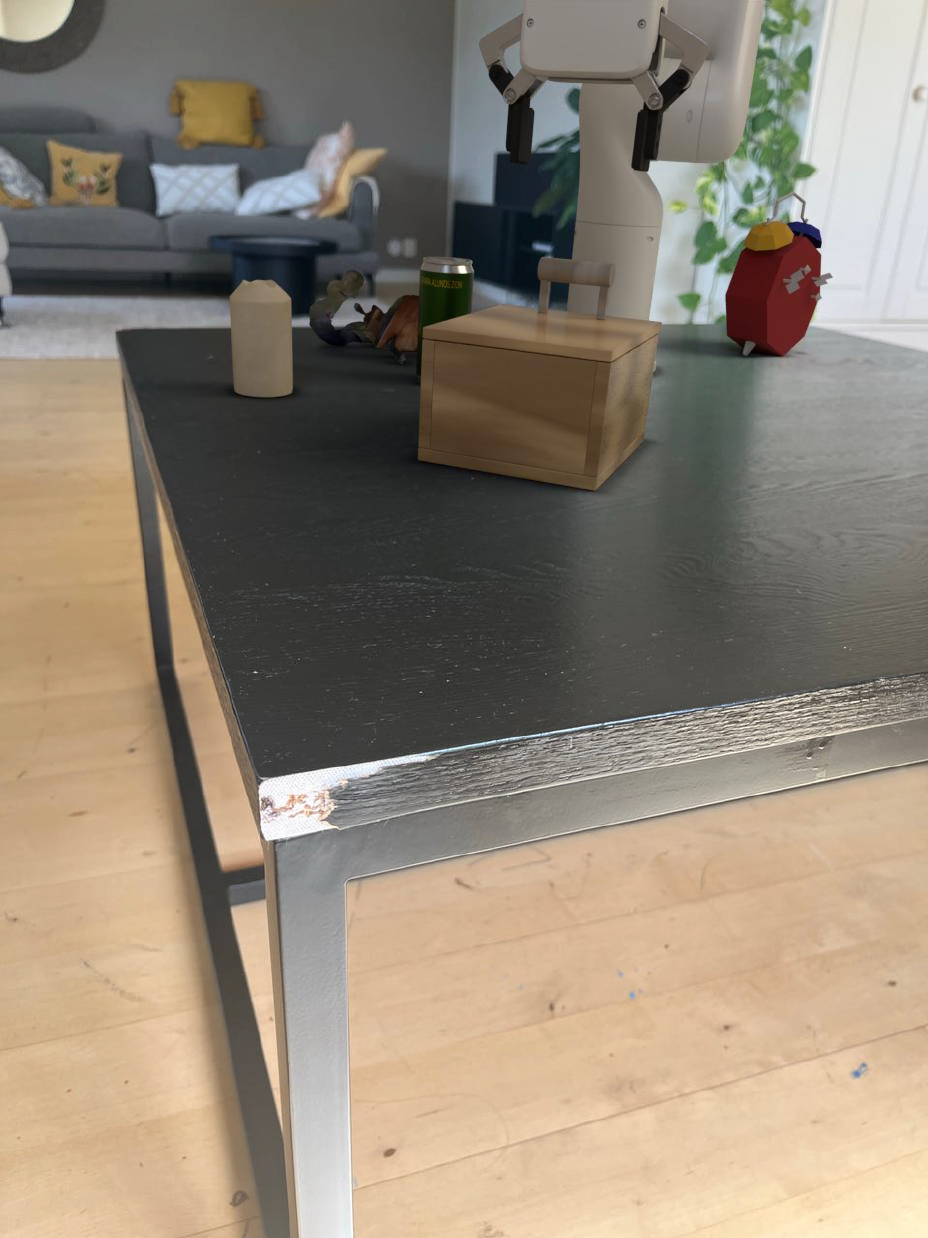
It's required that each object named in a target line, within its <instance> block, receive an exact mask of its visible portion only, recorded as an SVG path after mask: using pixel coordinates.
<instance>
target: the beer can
mask: <svg viewBox="0 0 928 1238" xmlns="http://www.w3.org/2000/svg"><path fill="white" fill-rule="evenodd" d="M472 264H473V260H472V259H468V258H462V257H461V258H460V257H452V256H450V257H449V256H424V257H422V264H421V265H420V268H419V282H418V283H419V284H418V296H419V310H418V337H417V352H416V367H415V368H416V369H415V374H416V378H417V379H418V382H419V383H421V366H422V340H423V339H424V338H423V327H426V326H429V325H433V324H436V323H440V322H443V321H447V320H450V319H454V318H457V317H460V316H464V315H467V314H471V313H473V298H474V297H473V295H474V280H475V279H474V278H475V270H474V268H473V266H472Z"/></svg>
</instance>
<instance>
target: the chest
mask: <svg viewBox="0 0 928 1238" xmlns="http://www.w3.org/2000/svg"><path fill="white" fill-rule="evenodd" d="M658 340H659V333H658V334H656V335H654V336H653V337H651V338H649V339H648V340H646V341H645V342H643V343H641V344H640V345H638V346H636V347H635V348H633V349H632V350H630V351H628V352H627V353H625V354H623V355H622V356H620V357H619V358H617V359H615V360H614V361H612V362H604V361H596V360H588V359H580V358H572V357H565V356H557V355H549V354H541V353H533V352H526V351H518V350H510V349H502V348H494V347H487V346H479V345H471V344H463V343H455V342H448V341H440V340H432V339H423V340H422V366H421V382H420V397H419V418H418V419H419V420H418V421H419V422H418V424H419V425H418V448H417V460H418V461H421V462H425V463H432V464H438V465H442V466H443V465H444V466H448V467H454V468H459V469H467V470H472V471H478V472H483V473H489V474H494V475H501V476H507V477H513V478H518V479H524V480H530V481H536V482H541V483H547V484H553V485H559V486H565V487H569V488H575V489H582V490H587V491H593V492H595V491H598V490H597V489H599V487H601V485H602V484H604V483H605V482H606V481H607V479H608V478H609V477H611V475H613V474H614V472H615V471H617V469H618V468H619V467H621V465H622V464H623V463H624V462H625V461H626V460H627V459H628V458H629V457H630V456H631V455H632V454H633V453H634V452H635V451H636V450H637V449H638V448H639V447H640V446H641V444H643V442H644V440H645V433H646V432H645V431H646V426H647V418H648V413H649V404H650V398H651V390H652V384H653V378H654V372H653V370H654V363H655V360H656V355H657V348H658V342H659V341H658Z"/></svg>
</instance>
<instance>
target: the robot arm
mask: <svg viewBox="0 0 928 1238" xmlns="http://www.w3.org/2000/svg"><path fill="white" fill-rule="evenodd" d="M764 1H765V0H524V3H523V12H522V13H521V14H519V15H518V16H515V17H514V18H512V19H511V20H509V21H507V22H506V23H504V24H502V25H501V26H499V27H498V28H495V29H494V30H492V31H491V32H490V33H487V34H486V35H484V36H483V37H481V38H480V40H479V43H478V47H479V50H480V53H481V56H482V58H483V62H484V64H485V67H486V68H487V72H488V78H489V80H490V82H491V83H492V84H493V85H494V86H495V88H496V90H497V91H498V92H499V93H500V95H501V96H502V99H503V102H504V103H505V104H507V105H508V106H507V118H506V119H507V120H506V122H507V123H506V132H505V133H506V134H505V150H506V152H507V153H509V164H516V165H529V164H530V163H531V162H532V161H531V160H532V149H533V139H534V138H533V137H534V124H535V109H534V108H533V107H531V100H532V99H533V98H534V97H535V95H536V94H537V93H538V92H539V91H540V89H541V88H542V87H543V86H544V84H545V83H546V82H547V81H549V82H553V83H566V84H581V87H580V91H579V98H578V125H579V126H578V128H579V182H578V194H577V205H576V207H577V208H576V215H575V223H574V224H575V225H574V234H573V246H572V255H571V260H580V261H590V262H601V263H612V264H615V279H614V283H613V285H612V287H611V288H610V293H609V301H608V310H607V316H612V317H621V318H630V319H639V320H648V321H650V316H651V308H652V301H653V293H654V287H655V279H656V272H657V265H658V257H659V249H660V242H661V235H662V229H663V220H664V202H663V198H662V196H661V193H660V191H659V189H658V187H657V185H656V184H655V182H654V180H652V178H651V176H650V174H649V173H648V172H649V170H650V165H651V162H674V163H688V164H689V163H690V164H720V163H723V162H725V161H727V160H729V159H730V158H732V157H733V156H734V155H735V153H736V152H737V150H738V149H739V146H740V144H741V142H742V139H743V136H744V133H745V127H746V124H747V118H748V112H749V108H750V100H751V94H752V87H753V81H754V74H755V68H756V62H757V55H758V48H759V41H760V35H761V29H762V22H763V14H764V3H765V2H764ZM517 43H519V62H520V67H521V68H520V69H519V70H518V72H517V73H516V74H515V76H514V75H513V74H512V72H511V71H510V69H509V68H508V67H507V64H506V63H507V62H506V59H505V52H506V50H507V49H509V48H510V47H512V46H513V45H516V44H517ZM568 284H569V285H568V295H567V303H566V311H568V312H577V313H586V314H595V315H597V309H598V300H599V291H600V286H590V285H580V284H571V283H568ZM657 362H658V361H657V360H656V359H655V363H654V370H653V373H654V372H655V371H656V370H657Z"/></svg>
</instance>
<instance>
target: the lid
mask: <svg viewBox="0 0 928 1238" xmlns="http://www.w3.org/2000/svg"><path fill="white" fill-rule="evenodd" d="M537 279H538V281H540V283H539V295H538V306H537V307H532V306H531V307H530V306H523V305H514V304H505V303H501V304H499V305H494V306H491V307H489V308H484V309H481V310H478V311H475V312H472V313H471V314H467V315H464V316H460V317H457V318H454V319H450V320H447V321H443V322H440V323H436V324H433V325H429V326H426V327H423V338H424V339H432V340H440V341H448V342H455V343H463V344H471V345H479V346H487V347H494V348H502V349H510V350H518V351H526V352H533V353H541V354H549V355H557V356H565V357H572V358H580V359H588V360H596V361H604V362H612V361H614V360H615V359H617V358H619V357H620V356H622V355H623V354H625V353H627V352H628V351H630V350H632V349H633V348H635V347H636V346H638V345H640V344H641V343H643V342H645V341H646V340H648V339H649V338H651V337H653V336H654V335H656V334H659V333H661V332H662V325H663V322H662V321H655V320H649V321H648V320H639V319H630V318H621V317H612V316H607V310H608V301H609V293H610V288H611V287H612V285H613V283H614V279H615V264H612V263H601V262H590V261H580V260H572V259H569V258H568V259H567V258H559V257H546V256H542V257H540V259H539V261H538V264H537ZM552 282H553V283H560V284H570V283H571V284H580V285H590V286H600V291H599V300H598V309H597V315H595V314H586V313H577V312H568V311H567V310H558V309H551V308H550V309H549V303H550V294H551V293H550V292H551V283H552Z"/></svg>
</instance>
